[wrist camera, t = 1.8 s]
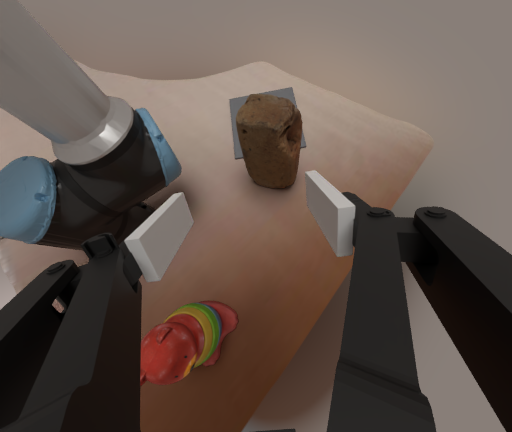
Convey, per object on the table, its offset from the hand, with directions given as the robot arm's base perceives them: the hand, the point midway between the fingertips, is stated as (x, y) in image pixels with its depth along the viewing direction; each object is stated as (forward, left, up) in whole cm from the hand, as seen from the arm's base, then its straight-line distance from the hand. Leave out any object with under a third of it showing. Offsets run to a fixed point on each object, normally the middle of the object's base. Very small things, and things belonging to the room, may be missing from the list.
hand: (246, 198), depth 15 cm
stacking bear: (-14, -13, -29) cm, 35 cm away
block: (+4, +18, -29) cm, 34 cm away
